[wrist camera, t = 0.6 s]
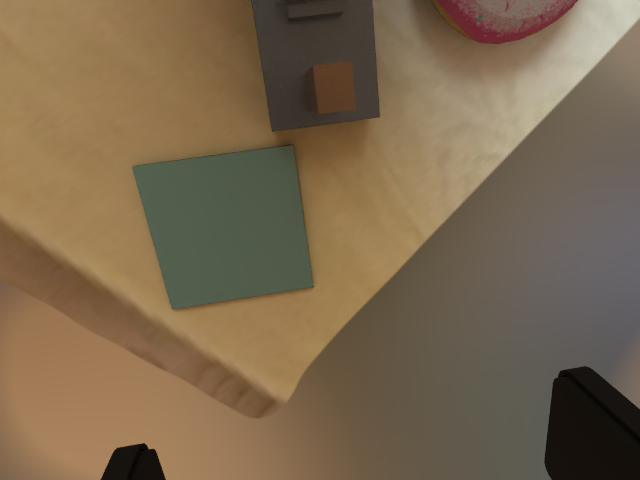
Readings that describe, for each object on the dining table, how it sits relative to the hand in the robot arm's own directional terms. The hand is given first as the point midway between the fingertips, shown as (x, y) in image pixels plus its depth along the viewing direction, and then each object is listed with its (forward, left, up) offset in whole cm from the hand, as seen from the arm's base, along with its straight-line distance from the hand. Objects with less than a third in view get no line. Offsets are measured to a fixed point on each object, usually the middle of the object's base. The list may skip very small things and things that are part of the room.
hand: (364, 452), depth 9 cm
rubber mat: (+2, -6, -27) cm, 28 cm away
